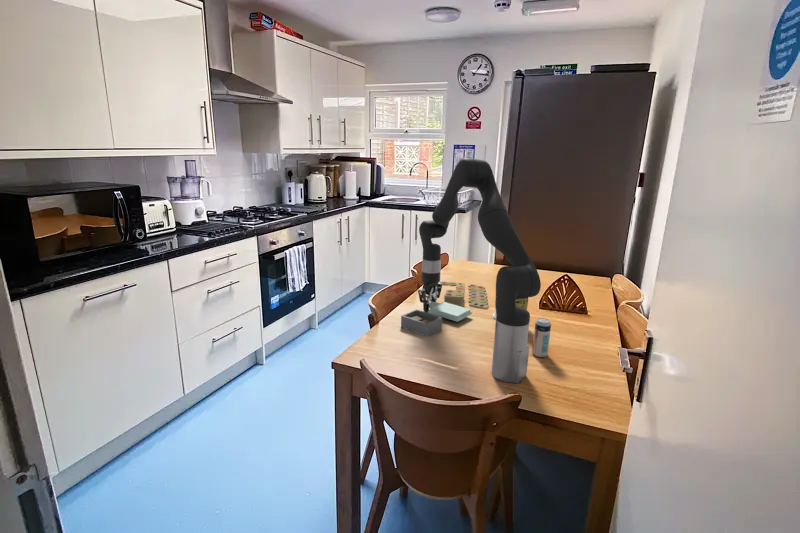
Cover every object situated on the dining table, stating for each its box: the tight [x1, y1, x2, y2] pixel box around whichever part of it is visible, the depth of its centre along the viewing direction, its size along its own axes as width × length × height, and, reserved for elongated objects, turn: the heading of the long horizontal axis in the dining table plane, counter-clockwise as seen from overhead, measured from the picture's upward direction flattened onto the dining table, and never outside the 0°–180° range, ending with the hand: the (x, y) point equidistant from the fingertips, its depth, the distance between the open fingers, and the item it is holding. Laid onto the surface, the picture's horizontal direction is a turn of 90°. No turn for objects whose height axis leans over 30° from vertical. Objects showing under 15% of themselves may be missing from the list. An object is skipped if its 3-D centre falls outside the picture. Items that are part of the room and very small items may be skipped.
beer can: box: [531, 317, 552, 358], centre depth 134 cm, size 5×5×12 cm
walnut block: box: [411, 316, 423, 322], centre depth 155 cm, size 4×4×3 cm
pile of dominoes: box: [427, 281, 490, 310], centre depth 192 cm, size 35×27×6 cm
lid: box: [422, 301, 473, 323], centre depth 165 cm, size 18×11×2 cm, turn 50°
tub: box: [400, 308, 443, 337], centre depth 153 cm, size 12×9×5 cm
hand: (429, 310), depth 170 cm, fingers closed on lid, 4 cm apart
